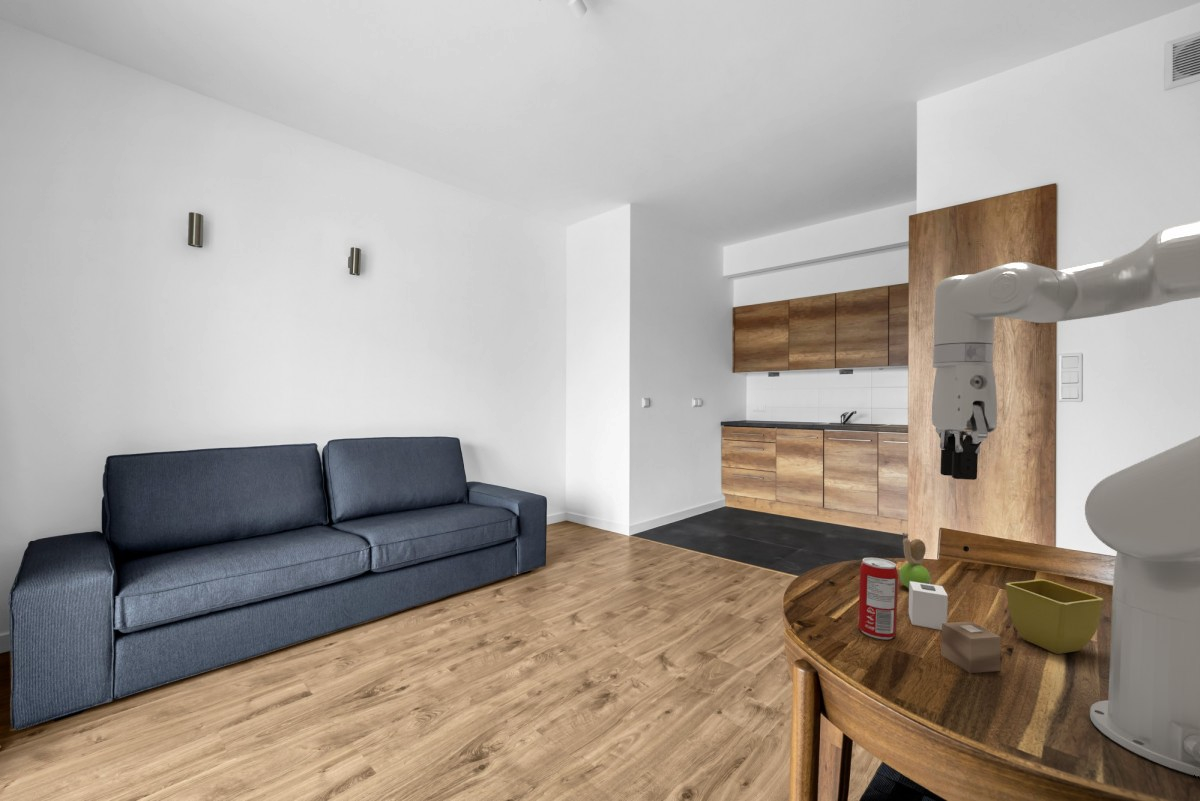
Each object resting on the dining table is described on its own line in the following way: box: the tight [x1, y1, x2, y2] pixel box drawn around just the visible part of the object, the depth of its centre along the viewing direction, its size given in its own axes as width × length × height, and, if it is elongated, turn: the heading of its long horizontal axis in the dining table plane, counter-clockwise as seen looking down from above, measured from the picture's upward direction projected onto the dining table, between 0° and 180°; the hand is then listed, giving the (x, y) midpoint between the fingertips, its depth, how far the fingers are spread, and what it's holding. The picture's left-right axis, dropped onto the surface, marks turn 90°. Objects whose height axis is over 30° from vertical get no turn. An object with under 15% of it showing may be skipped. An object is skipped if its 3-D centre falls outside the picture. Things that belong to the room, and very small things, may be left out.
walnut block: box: [940, 621, 1002, 674], centre depth 75 cm, size 5×5×5 cm
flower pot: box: [1005, 578, 1104, 655], centre depth 81 cm, size 9×9×9 cm
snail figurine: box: [898, 532, 932, 589], centre depth 104 cm, size 5×6×12 cm
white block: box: [908, 581, 949, 631], centre depth 89 cm, size 5×5×6 cm
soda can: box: [857, 557, 899, 641], centre depth 84 cm, size 6×6×12 cm
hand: (958, 476), depth 78 cm, fingers open, 2 cm apart
